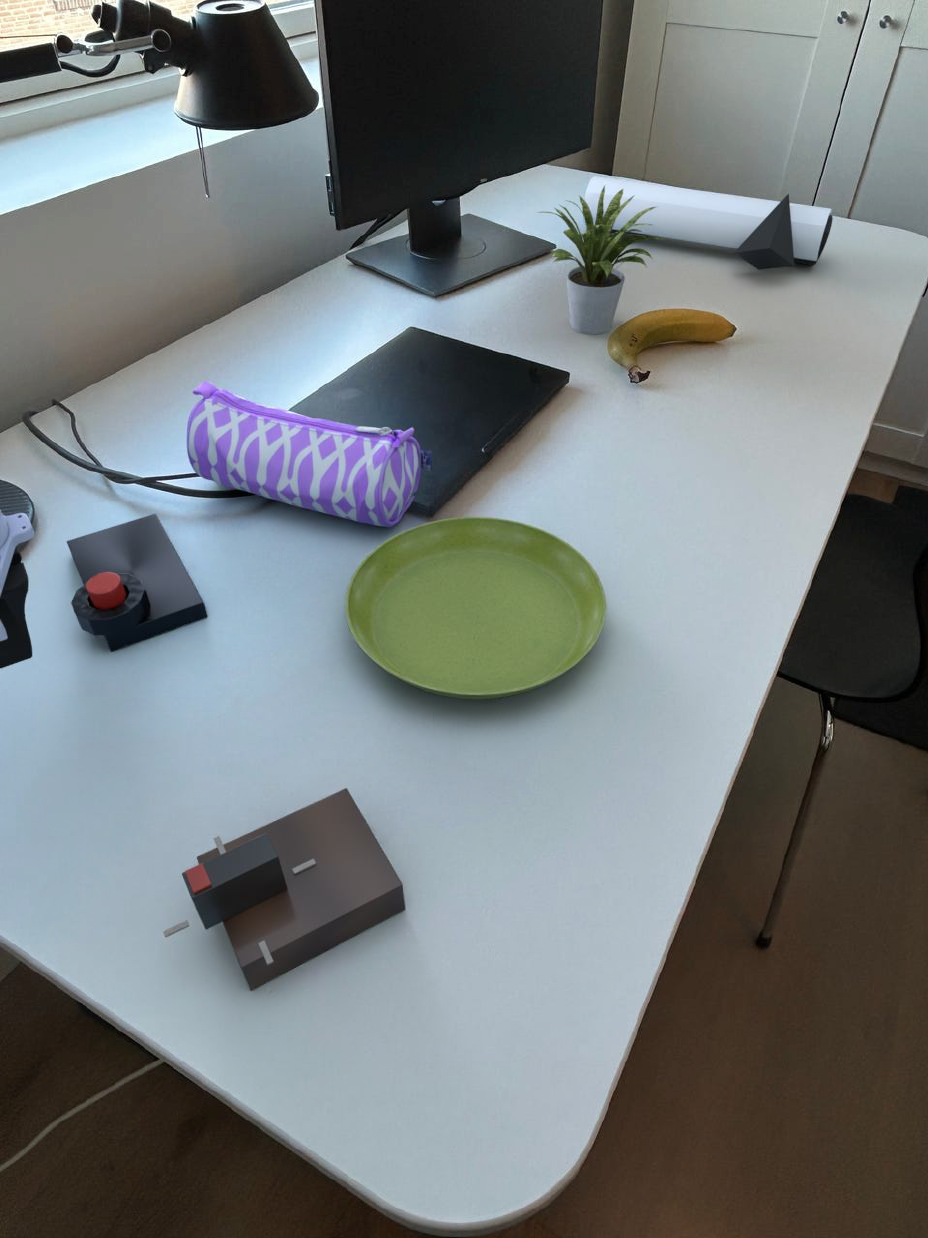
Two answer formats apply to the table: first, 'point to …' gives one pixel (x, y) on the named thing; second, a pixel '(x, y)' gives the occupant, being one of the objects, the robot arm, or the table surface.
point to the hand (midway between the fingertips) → (14, 656)
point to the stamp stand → (312, 889)
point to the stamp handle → (235, 880)
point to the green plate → (475, 607)
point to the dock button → (106, 590)
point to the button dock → (135, 583)
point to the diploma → (720, 221)
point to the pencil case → (304, 458)
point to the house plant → (598, 264)
